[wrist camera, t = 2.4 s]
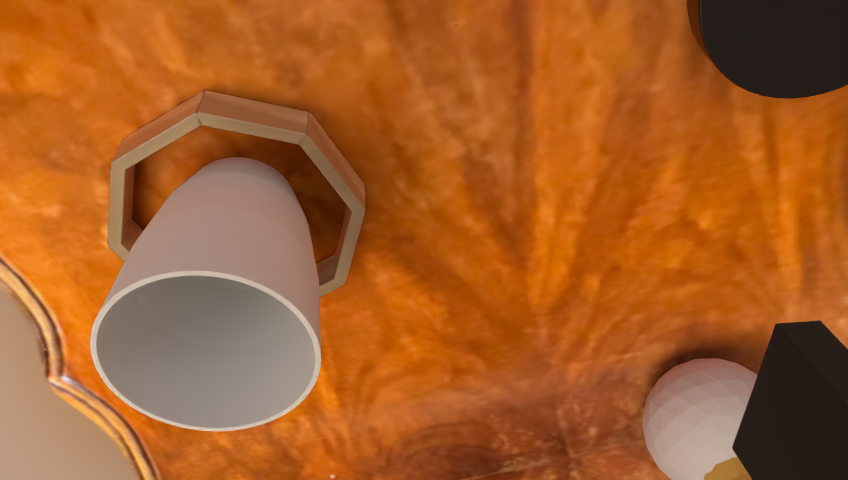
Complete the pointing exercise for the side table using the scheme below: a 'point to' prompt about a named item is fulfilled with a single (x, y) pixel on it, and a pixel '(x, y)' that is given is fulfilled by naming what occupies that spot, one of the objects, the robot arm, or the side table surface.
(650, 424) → the perfume bottle
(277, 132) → the holder ring
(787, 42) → the trivet
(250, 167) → the cup
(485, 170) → the side table surface
